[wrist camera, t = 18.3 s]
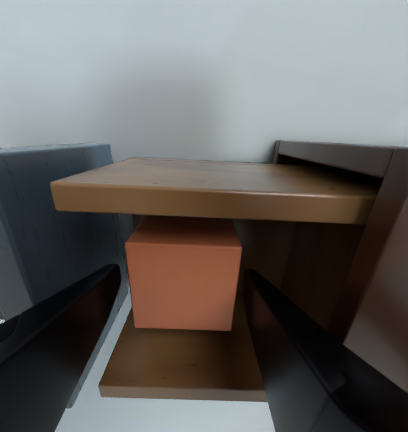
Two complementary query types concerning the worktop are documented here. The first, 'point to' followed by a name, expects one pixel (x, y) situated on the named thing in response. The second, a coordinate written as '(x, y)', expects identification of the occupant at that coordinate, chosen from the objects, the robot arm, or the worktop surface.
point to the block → (183, 272)
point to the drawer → (187, 207)
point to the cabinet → (370, 253)
